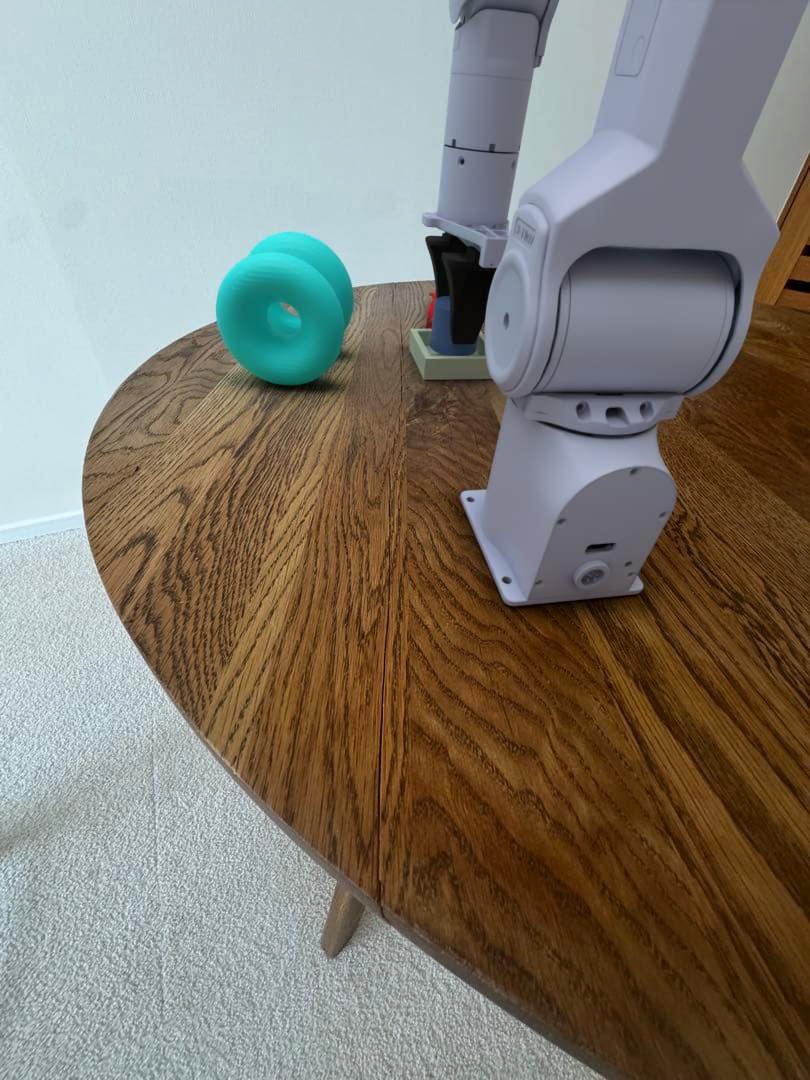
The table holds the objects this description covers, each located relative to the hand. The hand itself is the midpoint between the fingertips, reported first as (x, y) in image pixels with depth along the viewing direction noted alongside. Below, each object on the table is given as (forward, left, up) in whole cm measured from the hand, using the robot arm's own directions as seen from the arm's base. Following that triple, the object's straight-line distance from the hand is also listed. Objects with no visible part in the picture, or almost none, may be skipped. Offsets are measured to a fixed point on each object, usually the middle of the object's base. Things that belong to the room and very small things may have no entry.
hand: (456, 332), depth 47 cm
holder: (0, 0, -3) cm, 3 cm away
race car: (+12, -3, -3) cm, 13 cm away
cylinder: (0, 0, -1) cm, 1 cm away
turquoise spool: (-1, +15, -3) cm, 15 cm away
